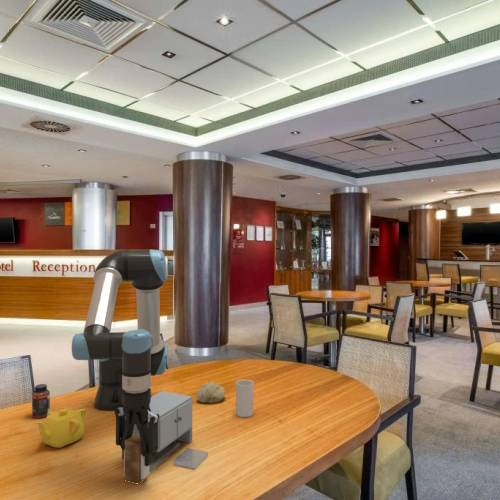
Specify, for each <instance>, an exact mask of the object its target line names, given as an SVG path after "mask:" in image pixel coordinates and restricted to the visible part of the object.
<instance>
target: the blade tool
mask: <svg viewBox="0 0 500 500" xmlns="http://www.w3.org/2000/svg"><path fill="white" fill-rule="evenodd" d="M180 446H181V443H180V441H176V440H174V441H173V442H172V443H170V444H169V445H168V446H166V447H165V448H164V449H162V450H161V451H159V452H154V454H152V455H151V464H150V465H149V472H150V473H151V472H153V471H154V470H155V469H156V468H158V465H159V464H160V463H161V464H162V463H164V462H165V461H164V460H165V459H166V460H167V459H168V458H170V455H171V454H172V455H173V454H175V452H177V451H178V450H179V449H180V448H181V447H180ZM176 450H177V451H176ZM142 453H143V449H142V444H141V439H140V435H139V434H134V435H133V436H131V437H130V438H128V439H126V440H125V474H124V481H125V480H126V481H130V482H134V483H138V484H139V483H140V482H141V481H142V480H144V479H145V478H144V479H141V454H142ZM172 455H171V456H172ZM161 464H160V465H161ZM160 465H159V466H160ZM155 467H156V468H155ZM154 468H155V469H154ZM153 469H154V470H153ZM152 470H153V471H152ZM149 475H150V474H149ZM149 475H148V477H149ZM145 480H146V479H145ZM145 480H144V481H145ZM126 481H125V482H126ZM141 483H142V482H141ZM141 483H140V484H141ZM140 484H139V485H140Z"/></svg>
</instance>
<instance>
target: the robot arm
mask: <svg viewBox="0 0 500 500" xmlns="http://www.w3.org/2000/svg"><path fill="white" fill-rule="evenodd" d="M92 279H93V282H94V286H93V290H92V295H91V299H90V303H89V308H88V312H87V315H86V320H85V325H84V328H83V332H80V333H75V334H74V336H73V337H72V341H71V355H72V357H73V359H74V360H76V361H92V360H93V361H97V360H98V378H99V379H98V387H97V391H96V394H95V398H94V399H93V401H94V407H95V408H96V409H98V410H103V411H113V410H114V417H115V445H116V446H119V447H120V449H121V459H122V460H123V475H125V440H126V439H128V438H130V437H131V436H132V434H133V429H134V425H135V424H136V426H137V429H138V430H139V434H140V439H141V444H142V449H143V453H142V454H141V479H144V478H146V477H147V476H148V475H150V473H149V465H150V464H151V456H152V455H153V453H156V452H155V451H156V450H158V420H159V417H160V416H159V414H156V415H155V414H153V413H152V412H151V409H150V406H149V405H150V401H151V397H152V389H151V386H152V377H155V376H160V375H163V374H164V373H165V372H166V367H167V359H168V346H167V345H165V343H164V341H163V340H162V339H161V307H160V306H161V304H160V303H161V302H160V301H161V300H160V299H161V298H160V294H161V293H160V292H161V291H160V289H161V288H163V287H164V282H166V281H167V280H168V270H167V261H166V256H165V253H164V252H163V251H162V250H160V249H152V248H151V249H120V250H115V251H113V252H111V253H109V254H108V255H106V256H105V257H104V258H103V259H102V260H100V262H99V263H98V265H97V266H96V268H95V270H94V274H93V277H92ZM122 282H131V286H132V288H134V289H135V290H136V294H135V295H136V315H137V316H136V317H137V322H136V323H137V329H134V330H128V331H120V332H119V331H118V332H111V330H112V324H113V319H114V312H115V306H116V300H117V296H118V295H117V294H118V288H119V287H120V286H121V284H122ZM125 416H126V420H125ZM148 418H149V420H148ZM142 423H143V424H142ZM148 424H149V426H148ZM148 477H149V476H148ZM148 477H147V478H148ZM147 478H146V479H147Z"/></svg>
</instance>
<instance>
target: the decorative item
mask: <svg viewBox="0 0 500 500" xmlns="http://www.w3.org/2000/svg"><path fill="white" fill-rule="evenodd" d="M225 395H226V389H225V388H224V387H223V386H220V384H218V383H217V382H216V381H209V382H206V383H205V384H203V385H202V386H201V387H199V389H198V390H197V393H196V400H197V401H198V402H200V403H209V404H215V403H219V402H221V401H223V400H224V398H225Z"/></svg>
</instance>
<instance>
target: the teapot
mask: <svg viewBox="0 0 500 500" xmlns="http://www.w3.org/2000/svg"><path fill="white" fill-rule="evenodd" d="M86 413H87V409H86V408H80V409H78V410H75V409H71V408H62V409H59V410H58V411H56V412H55V411H52V410H50V412H48V413H47V416H46V417H45V420H44V421H40V420H39V421H34V424H36V425H38V426H39V429H38V430H39V435H40V437H41V440H42V442H43V443H44V444H45V445H48V446H49V447H53V448H59V449H60V448H64V447H65V446H68V445H70V444H73V443H74V442H77V441H78V440H80V439H81V438H83V436H84V434H85V423H84V419H85V416H86Z"/></svg>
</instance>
